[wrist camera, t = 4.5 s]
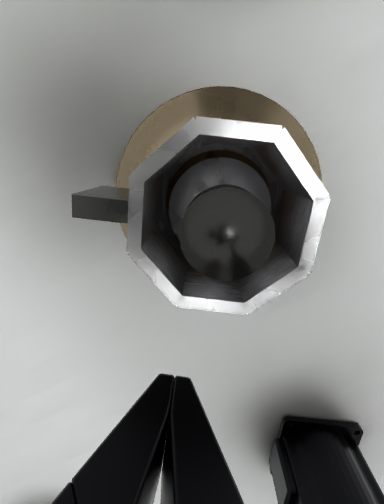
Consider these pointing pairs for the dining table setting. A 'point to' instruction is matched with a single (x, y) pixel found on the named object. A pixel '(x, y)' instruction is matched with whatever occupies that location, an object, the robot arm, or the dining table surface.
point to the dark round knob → (223, 218)
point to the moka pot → (199, 149)
